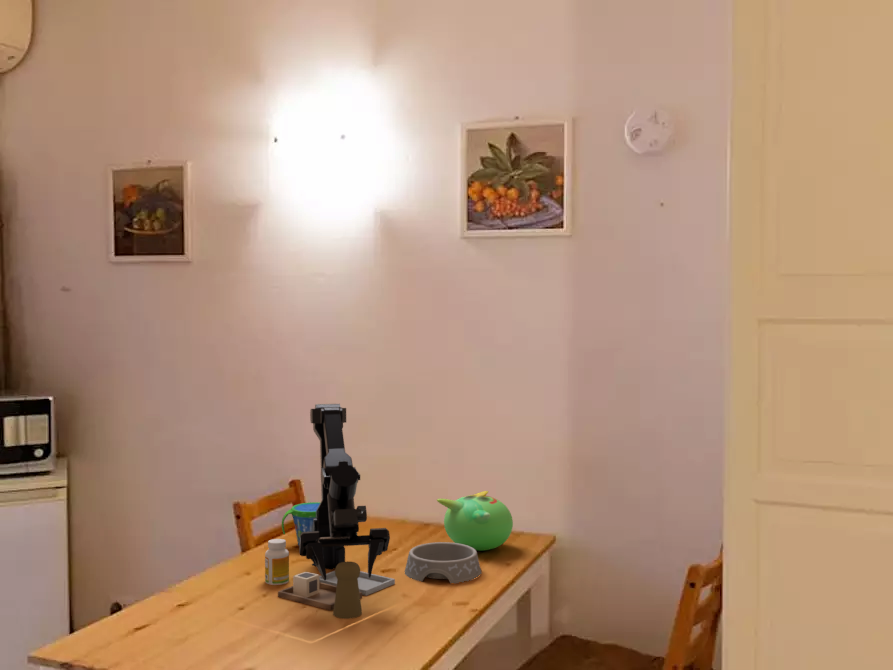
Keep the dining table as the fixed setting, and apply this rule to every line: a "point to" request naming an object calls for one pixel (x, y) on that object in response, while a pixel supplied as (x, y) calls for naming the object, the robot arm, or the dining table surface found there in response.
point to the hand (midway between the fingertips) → (347, 578)
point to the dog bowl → (443, 562)
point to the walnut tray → (314, 596)
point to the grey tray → (363, 582)
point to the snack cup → (302, 517)
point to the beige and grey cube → (306, 584)
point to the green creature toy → (477, 521)
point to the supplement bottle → (277, 562)
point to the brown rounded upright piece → (347, 591)
